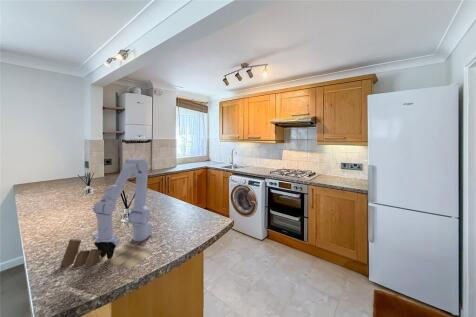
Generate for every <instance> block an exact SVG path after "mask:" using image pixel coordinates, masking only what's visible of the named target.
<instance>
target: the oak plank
mask: <svg viewBox="0 0 476 317" xmlns="http://www.w3.org/2000/svg"><path fill="white" fill-rule="evenodd" d="M136 246H138V245H136V244H132V243H129V242H125V243H124V244H121V245H120V246H118V247H115V249H114V253H113V257H111V258H110V259H107V255H105V256H103V257H101V256H100V257H99V260H98V262H102V263H107V264H109V263H108V262H110V261H112V260H114V259H115V258H117V257H119V256H121V255H122V254H124V253H126V252H128V251H129V250H131V249H133V248H134V247H136Z"/></svg>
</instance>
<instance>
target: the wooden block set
mask: <svg viewBox="0 0 476 317" xmlns="http://www.w3.org/2000/svg"><path fill="white" fill-rule="evenodd" d="M81 243H82V240H81V239H78V238H70V239H69V242H68V243H67V244H68V245H67V247H66V249H65V252H64V255H63V257H62V260H61V262H60V266H61V267H69V266H71V265H72V264H73V266H76V267H81V266H82V265H85V266H90V267H91V266H93V265H95V264H97V263H98V262H99V257H100V254H101V250H98V249H96V248H94V249H93V248H92V249H90V250H89V249H87V250H86V249H84V250H80V249H79V248H80V246H81Z"/></svg>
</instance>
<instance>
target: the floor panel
mask: <svg viewBox="0 0 476 317" xmlns="http://www.w3.org/2000/svg"><path fill="white" fill-rule="evenodd" d="M157 251H158V250H157V249H153V248H149V247H144V246H140V245H137V246H136V247H134V248H132V249H130V250H129V251H127V252H125V253H123V254H122V255H120V256H118V257H116V258H115V259H113V260H111V261H109V262H108V263H107V264H110V265H113V266H116V267H120V268H123V269H127V270H130V269H131V268H133V267H134V266H136V265H137V264H139V263H140V262H142V261H143V260H145V259H146V258H148V257H149V256H150V255H153V254H154V253H155V252H157Z"/></svg>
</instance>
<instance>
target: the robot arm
mask: <svg viewBox="0 0 476 317" xmlns="http://www.w3.org/2000/svg"><path fill="white" fill-rule="evenodd" d="M148 169H149V162H148V161H147V160H146V159H145V158H134V157H133V158H132V157H128V158H126V159H125V161H124V162H123V163H122V169H121V171H120V173H119V175H118V176H117V178H116V179H115V182H114V184H112V185H109V186H108V187H107V188H106V191H105V193H104V194H103V195H102V197H101V199H100V200H99V201H97V202H95V204H94V205H93V208H92V211H93V213H94V214H95V217H96V222H97V223H96V224H97V226H96V227H97V233H94V234H92V235H91V236H92V240H95V242H93V244H94V246H95V247H96V248H97V249H98V250H101V254H100V256H101V257H103V256H105V255H107V259H110V258H111V257H113V253H114V249H116V248H117V245H119V244H120V243H121V242H120V241H121V240H120V239H121V238H118V237H117V236H116V235H114V226H113V224H114V223H113V221H114V220H113V213H114V211H115V210H116V204H117V200H118V199H119V197H120V196H121V194H122V193H123V190H122V187H124V185H125V183H126V182H127V181H128V180H129V177H131V175H135V178H136V179H135V193H134V204H133V205H134V206H133V207H131V208H130V209H129V210H130V212H129V215H128V221H129V222H130V224H131V225H132V226H131V227H132V240H133V241H134V242H141V241H145V240H146V239H147V238H149V237H151V236H153V226H152V225H153V224H152V222H151V221H150V220H151V213H150V211H151V209H150V208H149V207H147V191H148V190H147V189H148V177H149V176H148V174H149V173H148Z"/></svg>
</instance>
